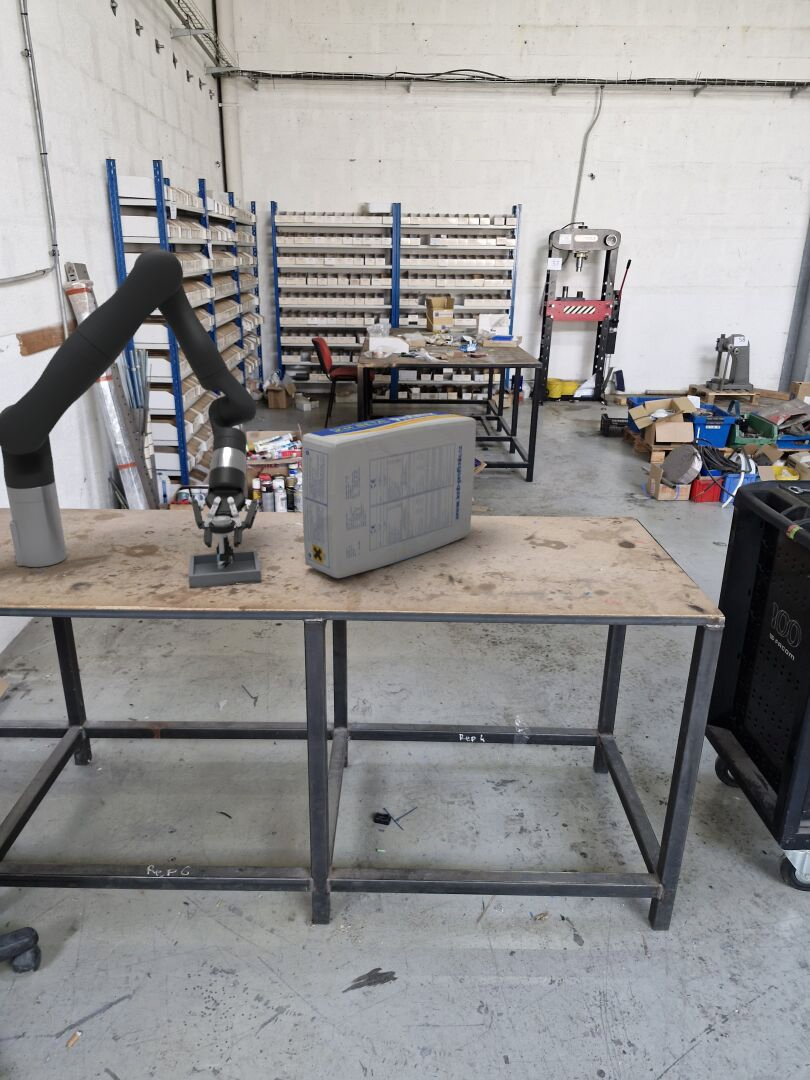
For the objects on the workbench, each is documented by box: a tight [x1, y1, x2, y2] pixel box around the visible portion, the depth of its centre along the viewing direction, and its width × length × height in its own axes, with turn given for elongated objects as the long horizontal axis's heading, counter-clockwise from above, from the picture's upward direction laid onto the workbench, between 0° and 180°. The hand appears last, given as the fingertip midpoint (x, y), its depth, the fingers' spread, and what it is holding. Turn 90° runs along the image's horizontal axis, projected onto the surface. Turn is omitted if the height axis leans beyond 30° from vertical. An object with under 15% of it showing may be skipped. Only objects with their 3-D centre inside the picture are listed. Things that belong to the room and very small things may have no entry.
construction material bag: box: [301, 411, 477, 579], centre depth 157 cm, size 43×12×30 cm, turn 135°
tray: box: [188, 549, 262, 589], centre depth 148 cm, size 14×12×2 cm
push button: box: [209, 516, 236, 569], centre depth 146 cm, size 7×5×10 cm
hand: (222, 545), depth 146 cm, fingers closed on push button, 5 cm apart
